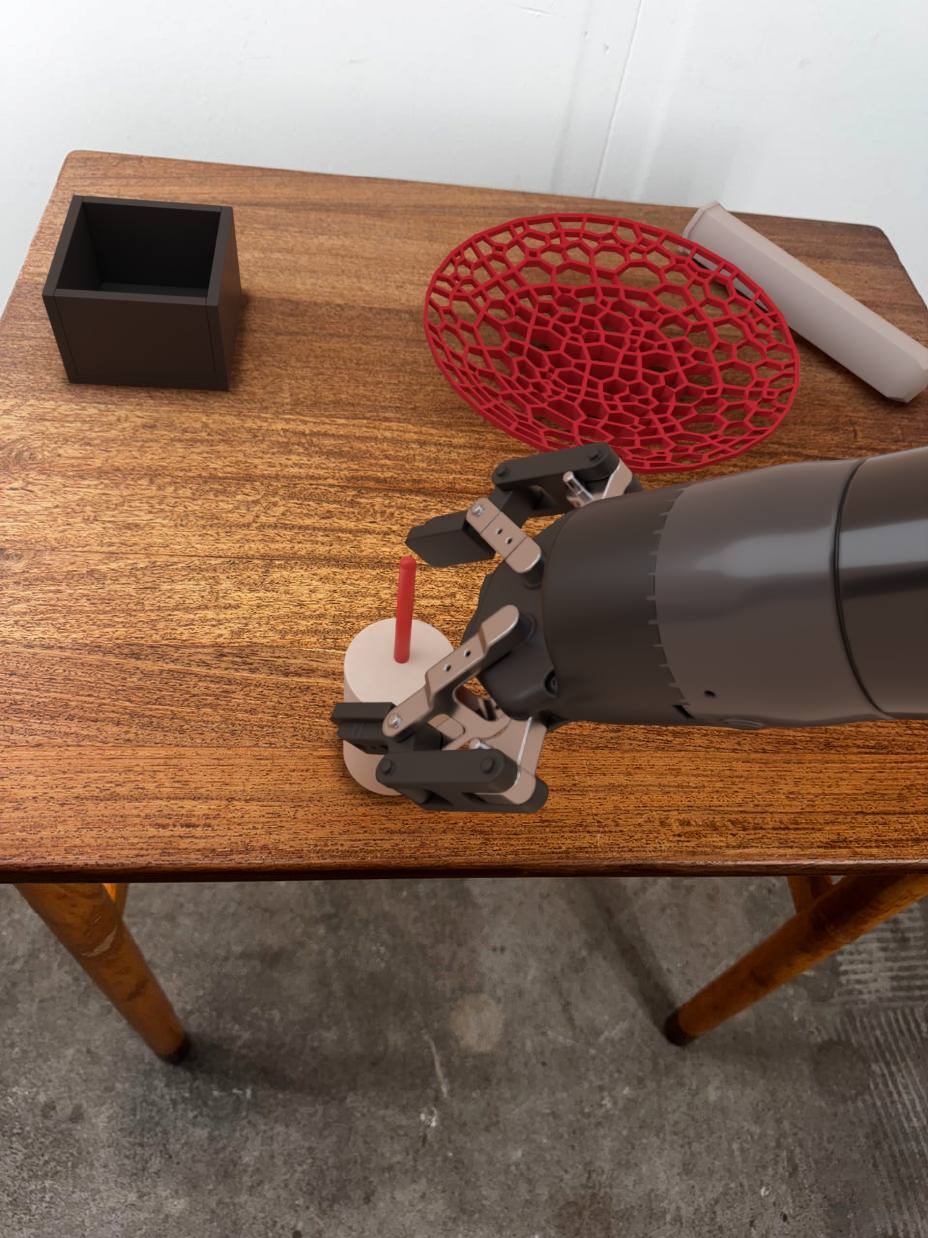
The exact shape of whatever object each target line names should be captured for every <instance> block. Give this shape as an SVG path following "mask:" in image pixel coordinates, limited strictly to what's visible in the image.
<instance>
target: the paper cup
mask: <svg viewBox="0 0 928 1238" xmlns="http://www.w3.org/2000/svg"><path fill="white" fill-rule="evenodd" d="M416 576H417V561H416V559H415V558H414V557H413V556H409V555H406V556H403V557H402V558H401V559H400V560H399V566H398V578H397V579H398V580H397V596H396V597H397V598H396V613H395V617H390V618H385V619H382V620H381V619H380V620H379V621H376V622H373V623H371V624H370V625H367V626H365V627H364V628H363V629H362V630H361V631H359V632H358V633H357V634H356V635H355V637H354V638H353V639H352V640H351V642H350V643H349V645H348V647H347V649H346V652H345V656H344V660H343V702H392V703H393V704H395V705H396V706H398V705H399V704H400V703H402V702H403V701H404V700H406V699H407V698H409V697H410V696H411V695H413V694H414V693H415V692H417V691H418V690H419V689H421V688H422V687H423V686H424V685H425V673H426V671H427V670H428V669H430V668H431V667H432V666H434V665H435V664H436V663H438V662H439V661H440V660H442V659H443V658H444V657H446V656H447V655H448V654H450V653H451V652H452V651H454V650H455V649H454V646H453V645H452V643H451V642H450V640H448V638H447V637H446V635H444V634H443V633H442V632H441V631H439V630H438V629H437V628H435V627H434V626H433V625H430V624H429V623H426V622H424V621H422V620H419V619H413V617H414V604H415V603H414V602H415V592H416V591H415V590H416V578H417V577H416ZM447 718H449V716H448V715H445V714H441V715H438V716H436V717H434V718H433V719H432V720H430V721H429V722H428V723H429V724H431V725H432V726H434V727H436V726H438V725H439V724H440V723H442V722H443V721H445V720H446V719H447ZM342 741H343V742H342V743H343V745H342V746H343V747H342V749H343V750H342V751H343V759H344V763H345V765H346V768H347V771H348V773H349V774H350V775H351V777H352V778H353V779H354V780H355V781H356V782H357V783H358V784H359V785H361V786H362V787H363V788H365V789H367V791H371V792H373V793H375V794H379V795H383V796H401V795H402V794H400V793H398V792H397V791H395V790H393V789H389V788H387V787H386V786H384V785H382V784H381V783H379V782H378V781H377V780H376V776H375V772H376V768H377V765H378V764H379V762H380V760H381V759H382V758H383V757H384V756H385V755H377V754H376V755H372V754H366V753H364V752H363V751H361V750H359V749H358V748H356V747H355V746H353V745H351V744H350V743H348V742H346V741H345V740H343V739H342ZM402 796H403V795H402Z"/></svg>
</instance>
